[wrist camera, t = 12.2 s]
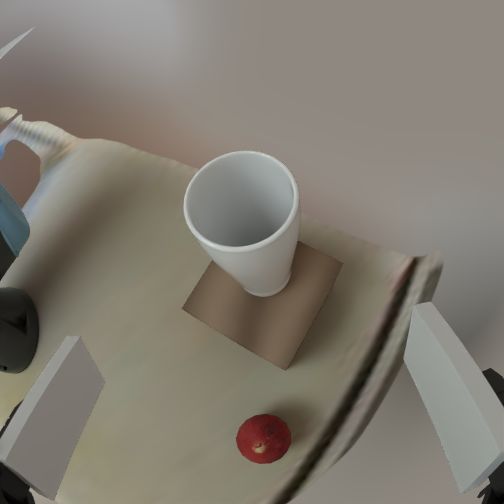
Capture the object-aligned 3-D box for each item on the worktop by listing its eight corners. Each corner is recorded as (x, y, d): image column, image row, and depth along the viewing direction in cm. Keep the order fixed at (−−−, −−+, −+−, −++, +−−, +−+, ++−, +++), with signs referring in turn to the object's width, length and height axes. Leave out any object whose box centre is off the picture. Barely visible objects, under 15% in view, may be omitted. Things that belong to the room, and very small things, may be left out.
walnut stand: (202, 320, 38) (181, 308, 31) (251, 242, 41) (242, 214, 34) (286, 369, 35) (285, 370, 27) (333, 284, 38) (343, 263, 30)
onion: (262, 400, 34) (255, 409, 26) (300, 428, 32) (303, 443, 24) (232, 434, 32) (217, 451, 25) (269, 462, 31) (264, 484, 23)
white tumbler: (222, 255, 32) (170, 173, 18) (283, 230, 32) (272, 134, 18) (244, 315, 30) (199, 272, 16) (309, 289, 30) (321, 223, 16)
